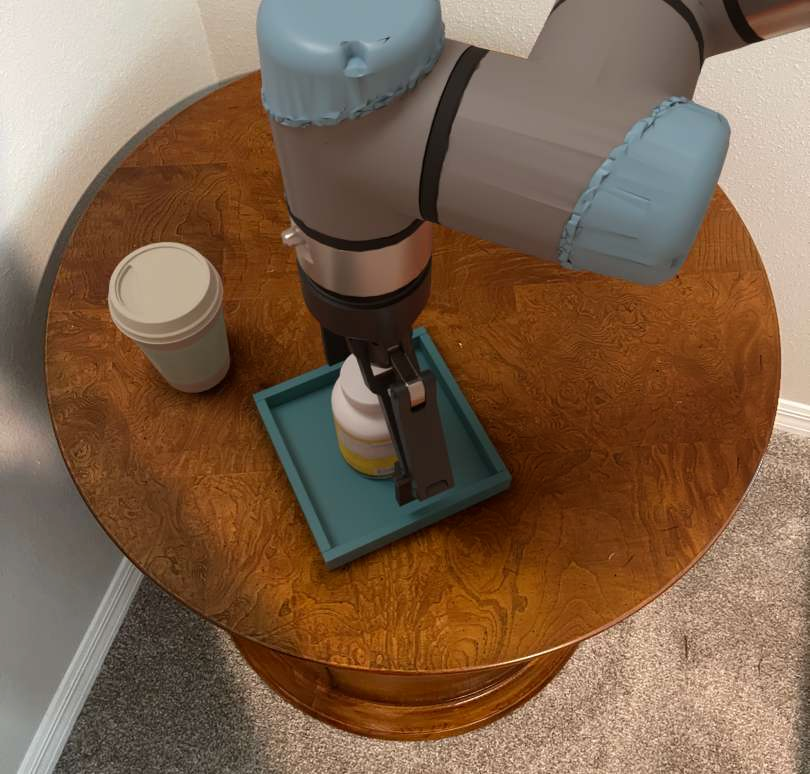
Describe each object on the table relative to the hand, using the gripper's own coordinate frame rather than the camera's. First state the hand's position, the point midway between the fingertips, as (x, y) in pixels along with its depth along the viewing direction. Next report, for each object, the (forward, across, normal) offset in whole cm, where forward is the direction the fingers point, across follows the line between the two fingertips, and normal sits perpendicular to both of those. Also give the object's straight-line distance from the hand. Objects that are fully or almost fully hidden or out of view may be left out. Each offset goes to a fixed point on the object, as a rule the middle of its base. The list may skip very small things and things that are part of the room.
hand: (377, 423), depth 64 cm
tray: (+4, 0, 0) cm, 4 cm away
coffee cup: (+4, -14, -11) cm, 18 cm away
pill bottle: (+4, 0, 0) cm, 4 cm away
